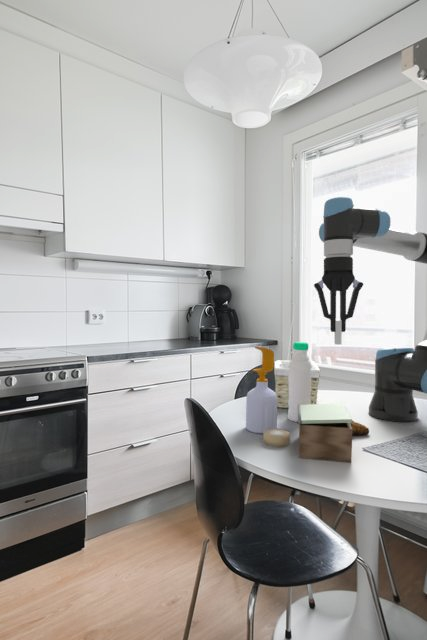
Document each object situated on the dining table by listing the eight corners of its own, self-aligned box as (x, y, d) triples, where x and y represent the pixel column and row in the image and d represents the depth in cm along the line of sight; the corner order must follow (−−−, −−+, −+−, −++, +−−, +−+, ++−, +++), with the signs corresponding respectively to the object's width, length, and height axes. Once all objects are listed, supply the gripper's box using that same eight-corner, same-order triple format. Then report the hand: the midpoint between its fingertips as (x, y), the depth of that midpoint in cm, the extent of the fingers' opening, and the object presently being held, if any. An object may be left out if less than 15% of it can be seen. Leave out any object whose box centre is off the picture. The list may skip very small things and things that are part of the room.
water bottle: (310, 423, 125) (312, 343, 124) (287, 421, 127) (289, 343, 126) (309, 417, 132) (311, 341, 131) (288, 415, 134) (289, 341, 133)
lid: (344, 406, 110) (344, 403, 110) (352, 423, 95) (351, 418, 95) (298, 407, 113) (297, 404, 113) (298, 424, 97) (297, 420, 97)
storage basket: (273, 394, 166) (274, 358, 165) (314, 396, 163) (315, 360, 163) (273, 409, 142) (273, 367, 142) (320, 412, 140) (321, 369, 139)
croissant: (322, 436, 114) (322, 418, 114) (319, 429, 121) (319, 412, 121) (371, 439, 112) (372, 421, 112) (366, 431, 119) (366, 415, 119)
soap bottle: (239, 428, 119) (241, 346, 118) (259, 422, 126) (260, 344, 124) (263, 436, 113) (265, 349, 112) (282, 429, 119) (284, 347, 118)
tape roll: (290, 439, 111) (290, 430, 111) (289, 447, 104) (289, 438, 104) (264, 436, 113) (264, 427, 112) (262, 445, 106) (262, 435, 106)
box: (343, 440, 111) (344, 411, 110) (351, 462, 95) (352, 429, 95) (299, 436, 113) (299, 408, 113) (299, 457, 97) (300, 425, 97)
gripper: (360, 257, 111) (360, 342, 112) (312, 259, 113) (312, 342, 115) (366, 254, 104) (365, 345, 105) (314, 256, 106) (314, 345, 107)
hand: (337, 343), depth 110 cm, fingers closed
